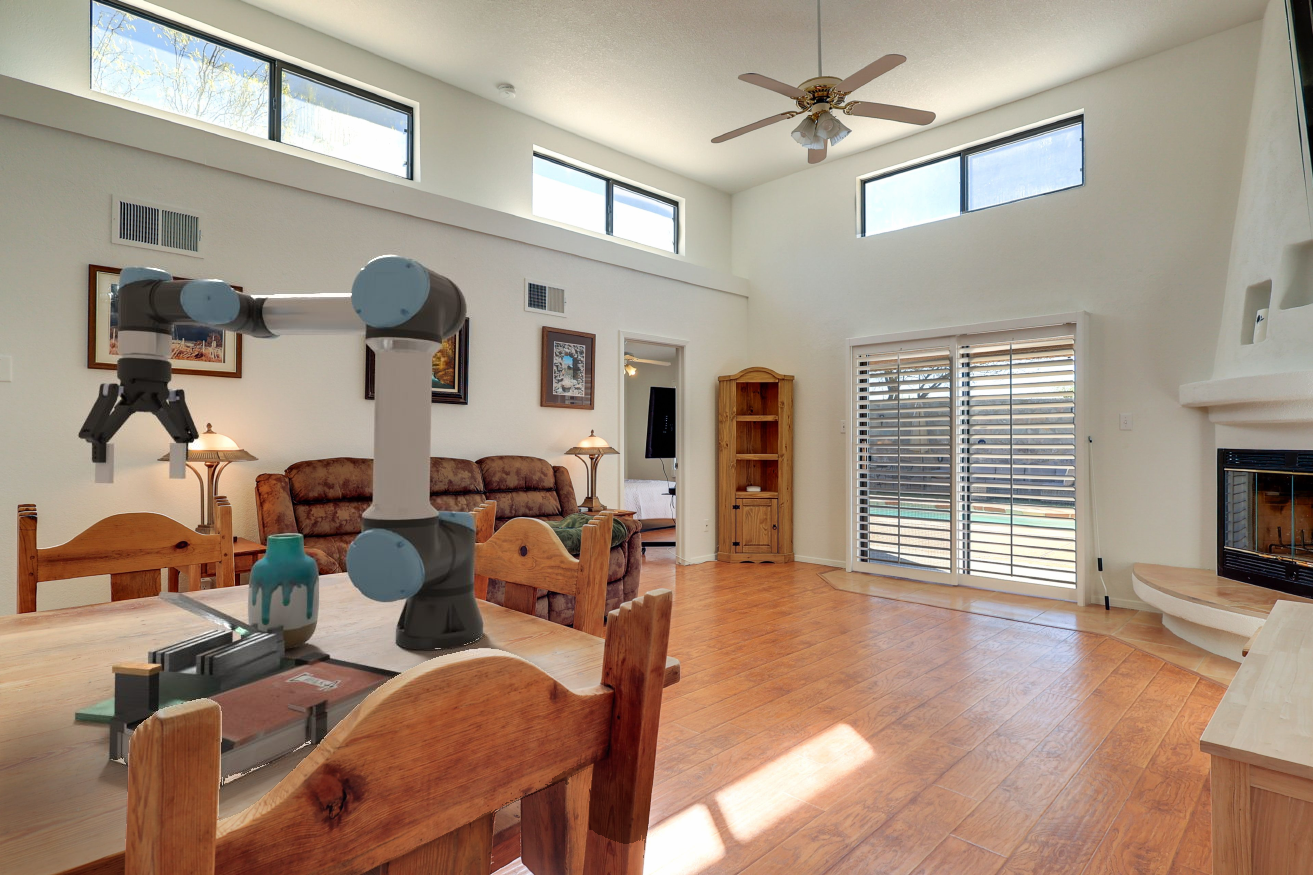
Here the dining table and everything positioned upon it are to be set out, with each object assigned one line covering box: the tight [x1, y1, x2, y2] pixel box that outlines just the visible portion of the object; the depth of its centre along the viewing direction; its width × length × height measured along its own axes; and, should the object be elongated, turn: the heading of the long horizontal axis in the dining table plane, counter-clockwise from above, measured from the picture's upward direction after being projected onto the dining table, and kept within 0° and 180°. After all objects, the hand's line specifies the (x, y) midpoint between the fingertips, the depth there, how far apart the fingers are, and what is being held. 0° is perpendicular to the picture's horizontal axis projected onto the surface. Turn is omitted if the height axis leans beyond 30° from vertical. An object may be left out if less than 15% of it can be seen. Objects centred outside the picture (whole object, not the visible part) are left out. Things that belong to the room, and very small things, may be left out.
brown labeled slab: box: [108, 651, 402, 788], centre depth 83 cm, size 26×18×5 cm
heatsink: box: [74, 623, 296, 725], centre depth 94 cm, size 15×24×7 cm, turn 170°
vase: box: [247, 533, 320, 650], centre depth 114 cm, size 11×11×19 cm
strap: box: [157, 591, 265, 637], centre depth 97 cm, size 3×20×1 cm
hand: (142, 480), depth 116 cm, fingers open, 13 cm apart
